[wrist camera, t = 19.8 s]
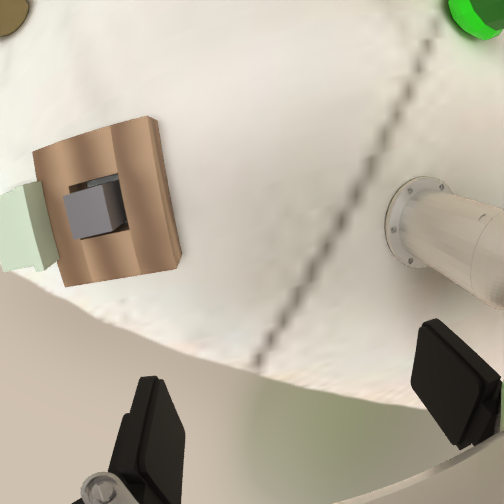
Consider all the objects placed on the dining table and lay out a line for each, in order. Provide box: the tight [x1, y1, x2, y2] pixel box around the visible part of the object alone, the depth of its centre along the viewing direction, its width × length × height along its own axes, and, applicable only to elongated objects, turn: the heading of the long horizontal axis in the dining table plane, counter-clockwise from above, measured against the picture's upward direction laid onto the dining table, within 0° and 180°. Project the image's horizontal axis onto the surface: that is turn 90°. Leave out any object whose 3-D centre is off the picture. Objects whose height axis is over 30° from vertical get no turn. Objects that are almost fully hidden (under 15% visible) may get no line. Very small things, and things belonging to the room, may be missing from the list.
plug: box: [63, 180, 127, 240], centre depth 31 cm, size 4×4×8 cm
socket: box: [32, 116, 182, 287], centre depth 33 cm, size 14×16×5 cm
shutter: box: [0, 181, 60, 272], centre depth 28 cm, size 9×9×4 cm
